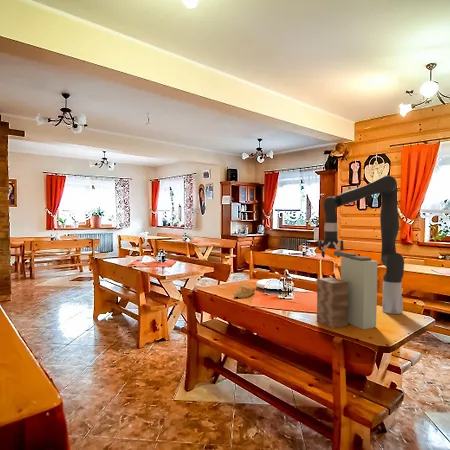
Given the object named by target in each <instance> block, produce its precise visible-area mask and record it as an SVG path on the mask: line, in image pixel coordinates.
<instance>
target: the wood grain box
mask: <svg viewBox="0 0 450 450" xmlns="http://www.w3.org/2000/svg"><path fill="white" fill-rule="evenodd" d="M316 281H317V284H316V285H317V286H316V287H317V289H316V293H317V295H316V298H317V299H316V322H319V323H321V324H323V325H325V326H327V327H329V328H331V329H336V328H341V327H348V324H349V323H348V282H346V281H343V280H341V279H340V278H336V277H332V276H331V277H322V278H320V277H319V278H317V280H316Z"/></svg>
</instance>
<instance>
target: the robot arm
mask: <svg viewBox="0 0 450 450" xmlns="http://www.w3.org/2000/svg"><path fill="white" fill-rule="evenodd" d="M397 187H398V182H397V179H396V178H395V177H394V176H392V175H383V176H382V177H379V178H378V179H376V180H374V181H372V182H370V183H368V184H366V185H363V186H359V187H355V188H353V189H349V190H346V191H344V192H341V193H340V194H338V195H334V196H327V197H326V198H325V199H324V201H323V210H324V228H323V229H324V230H323V231H324V232H323V233H324V236H323V237H324V239H323V240H322V239H319V240H318V246H317V247H318V248H317V249H318V250H319V251H321V257H322V258H325V257H326V256H325V250H327V248H335V250H336V251H339V252H343V251H344V240H342V239H340V240H339V239H338V235H339V234H338V233H339V228H338V227H339V226H338V214H337V210H336V209H337V208H339V207H342V206H344V205H349V204H351V203H354V202H357V201H359V200H362V199H364V198H367V197H369V196H372V195H377V194H380V197H381V198H380V201H381V205H380V206H381V207H380V214H379V217H380V218H379V220H380V221H379V222H380V236H381V238H380V239H381V255H380V256H381V257H380V260H381V263H382V265H383V266H384V267H385V268H386V271H385V274H384V275H382V308H381V309H382V312H383V313H385V314H388V315H389V314H390V315H399V314H403V311H404V310H403V305H404V301H403V300H404V296H403V295H402V283H403V282H402V279H403V278H404V273H405V272H404V271H405V259H404V257H403V255H402V254H400V253H398V252H397V248H396V243H397V242H396V240H397V237H398V234H399V231H400V218H399V210H398V203H397V189H398V188H397ZM322 244H324V245H323V247H322ZM338 244H339V246H340V248H339V246H338ZM336 257H337V259H339V258H341V256H336Z"/></svg>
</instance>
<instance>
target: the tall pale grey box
mask: <svg viewBox="0 0 450 450" xmlns="http://www.w3.org/2000/svg"><path fill="white" fill-rule="evenodd" d="M340 280H343V281H346V282H348V324H351V326H355V327H357V328H359V329H361V330H367V329H368V330H369V329H373V328H374V327H375V328H377V310H378V309H377V307H378V306H377V305H378V304H377V303H378V301H377V300H378V260H374V259H371V260H369V261H359V260H353V259H350V258H347V257H340Z"/></svg>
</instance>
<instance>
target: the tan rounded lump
mask: <svg viewBox="0 0 450 450" xmlns="http://www.w3.org/2000/svg"><path fill="white" fill-rule="evenodd" d="M255 291H256V288H254V287H251V286H250V285H247V284H245V285H241V286H239V288H238V289H237V290H236V292H235V293H234V294H233V297H234V298H236V297H238V298H249V297H250V296H252V295H253V294H254V293H255Z"/></svg>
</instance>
